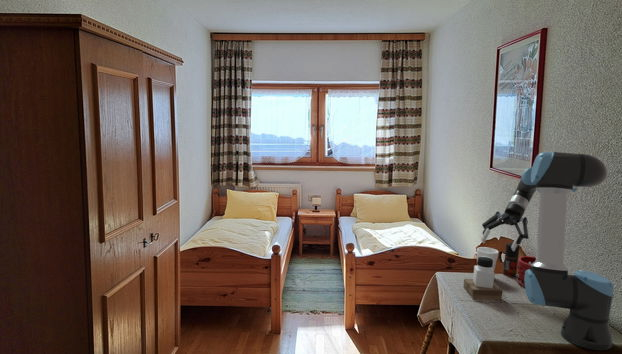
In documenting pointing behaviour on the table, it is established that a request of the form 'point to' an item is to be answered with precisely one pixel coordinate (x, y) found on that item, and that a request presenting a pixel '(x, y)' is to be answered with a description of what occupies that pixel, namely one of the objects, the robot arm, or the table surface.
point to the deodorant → (510, 260)
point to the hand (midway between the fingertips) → (497, 245)
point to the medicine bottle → (484, 273)
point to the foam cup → (488, 254)
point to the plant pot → (524, 267)
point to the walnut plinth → (482, 291)
